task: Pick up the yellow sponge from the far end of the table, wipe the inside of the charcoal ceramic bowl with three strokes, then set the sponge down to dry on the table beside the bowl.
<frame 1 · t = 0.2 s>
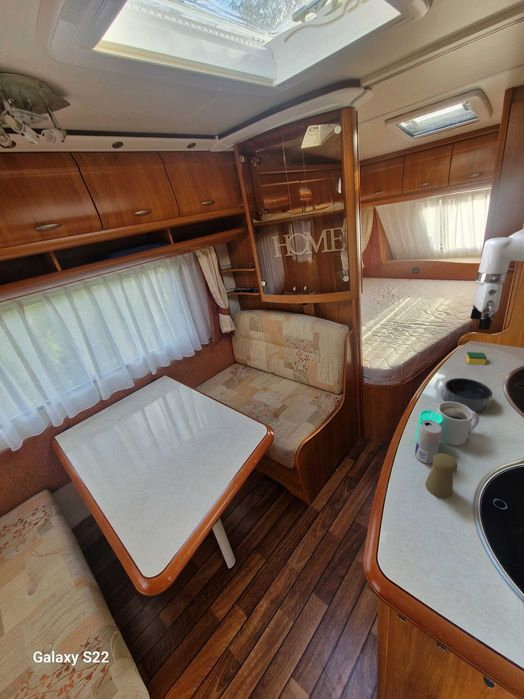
hand: (479, 323, 99), 24 cm above the counter, tool pointing down, fingers open, 9 cm apart
cork: (438, 488, 72), on the counter
bowl: (464, 401, 99), on the counter
mug: (452, 435, 86), on the counter
candle: (426, 442, 85), on the counter
energy drink: (424, 457, 81), on the counter
sponge: (474, 361, 119), on the counter
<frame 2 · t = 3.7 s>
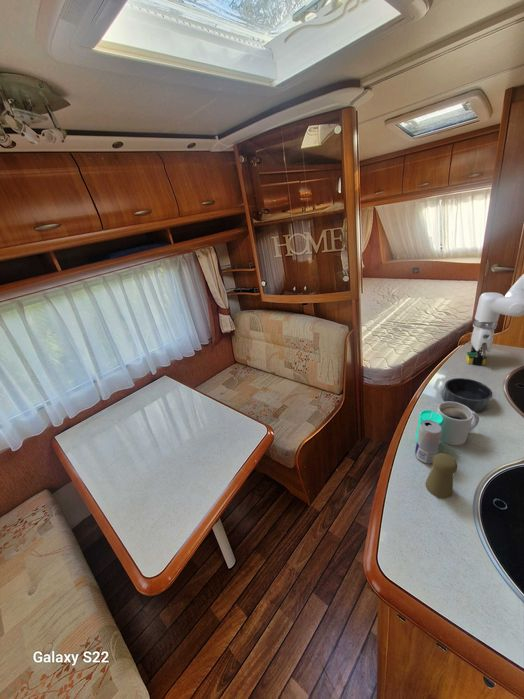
hand: (475, 361, 119), 0 cm above the counter, tool pointing down, fingers closed on sponge, 4 cm apart
sponge: (474, 361, 119), on the counter, touching gripper
everything else where it was.
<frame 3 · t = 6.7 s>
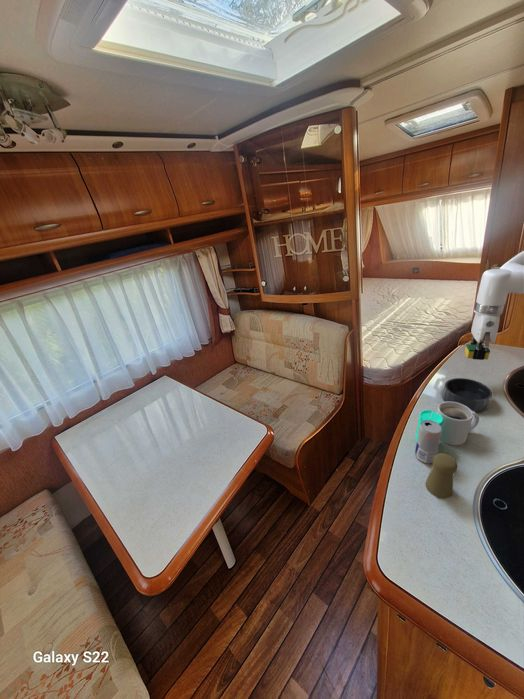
hand: (476, 355, 98), 15 cm above the counter, tool pointing down, fingers closed on sponge, 4 cm apart
sponge: (475, 356, 98), point 14 cm above the counter, touching gripper
everything else where it was.
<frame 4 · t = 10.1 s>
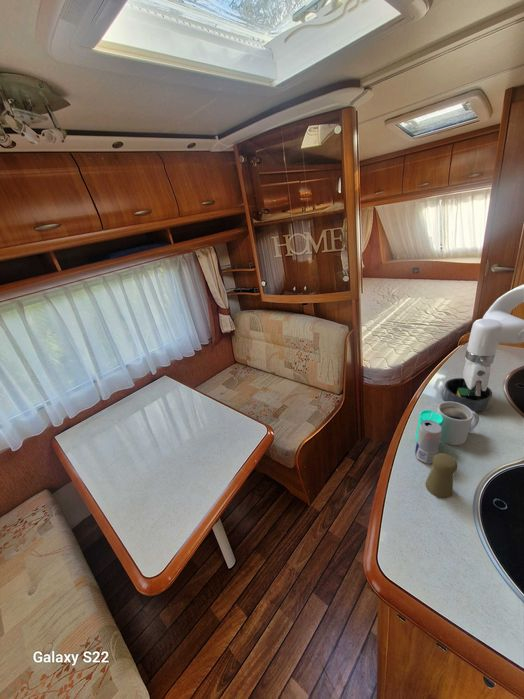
hand: (467, 399, 98), 1 cm above the counter, tool pointing down, fingers closed on sponge, 4 cm apart
sponge: (467, 400, 98), point 1 cm above the counter, touching gripper
everything else where it was.
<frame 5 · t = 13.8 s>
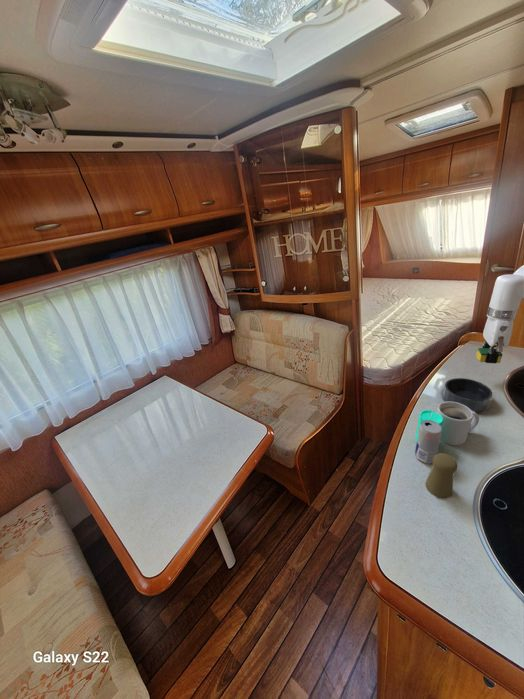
hand: (488, 358, 100), 12 cm above the counter, tool pointing down, fingers closed on sponge, 4 cm apart
sponge: (487, 359, 100), point 12 cm above the counter, touching gripper
everything else where it was.
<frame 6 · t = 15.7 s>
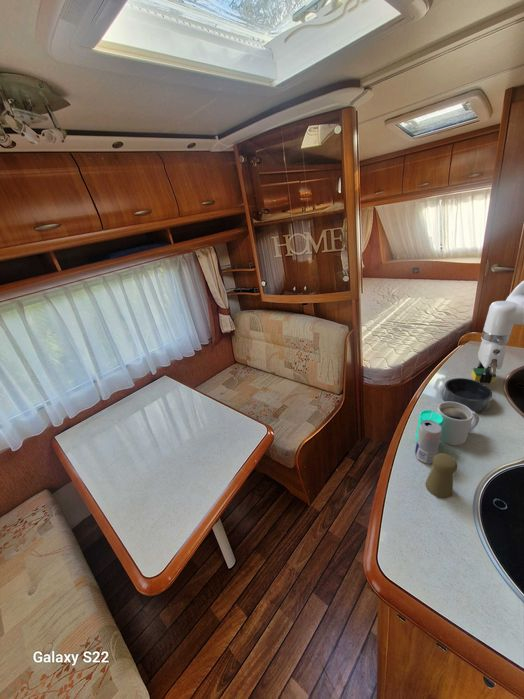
hand: (482, 378, 104), 3 cm above the counter, tool pointing down, fingers closed on sponge, 4 cm apart
sponge: (482, 379, 104), point 3 cm above the counter, touching gripper
everything else where it was.
when the fingers open (0 cm above the counter, at t = 16.8 s): sponge stays where it is, on the counter.
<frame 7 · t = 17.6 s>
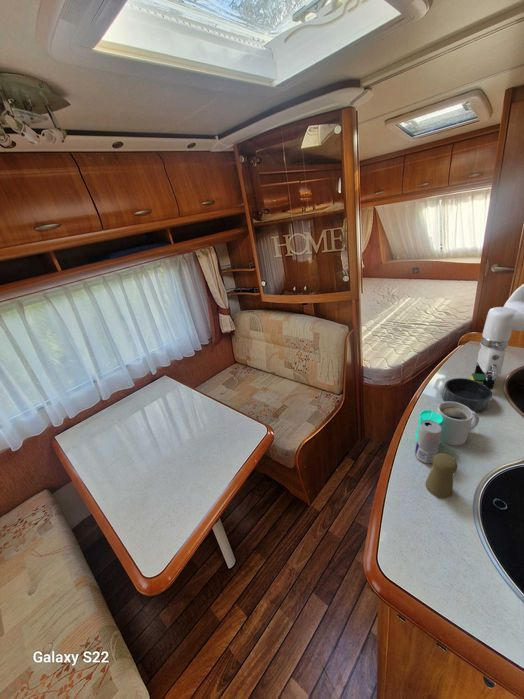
hand: (482, 381, 105), 2 cm above the counter, tool pointing down, fingers open, 9 cm apart
sponge: (480, 384, 105), on the counter
everything else where it was.
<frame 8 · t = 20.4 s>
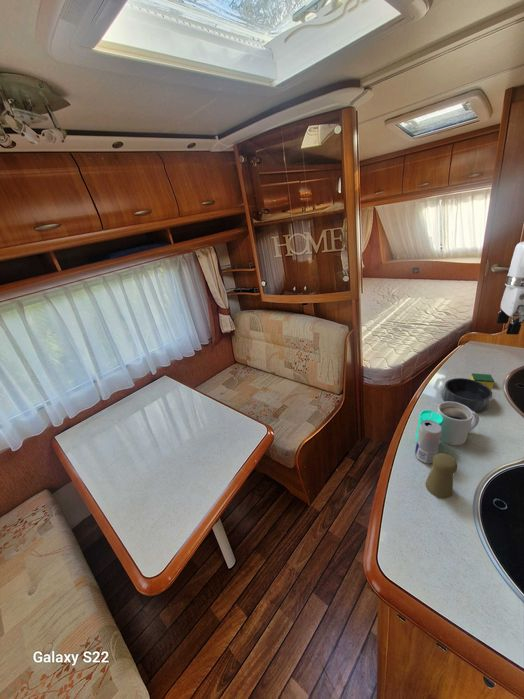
hand: (506, 328, 97), 22 cm above the counter, tool pointing down, fingers open, 9 cm apart
nothing on the counter moved.
at the end: sponge inside the target area on the counter beside the bowl (0.3 cm from its centre), on the counter; sponge tilted 0°; the gripper is holding nothing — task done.
